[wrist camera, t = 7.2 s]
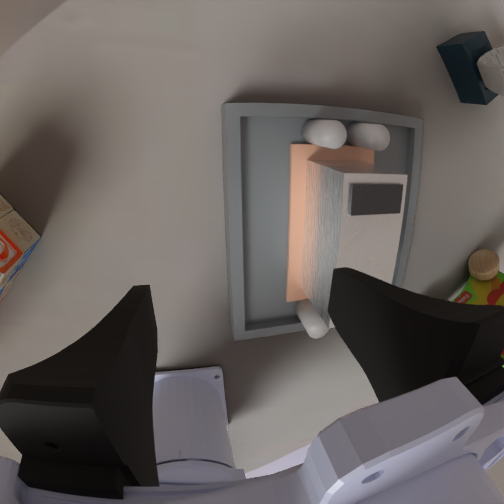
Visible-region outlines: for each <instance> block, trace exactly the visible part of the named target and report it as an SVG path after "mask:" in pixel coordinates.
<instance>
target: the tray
mask: <svg viewBox="0 0 504 504" xmlns="http://www.w3.org/2000/svg"><path fill="white" fill-rule="evenodd" d="M221 106H222V149H223V181H224V208H225V233H226V254H227V274H228V293H229V311H230V326H231V330H232V333H233V337H234V341H239V340H246V339H253V338H260V337H267V336H274V335H280V334H286V333H292V332H298V331H304V330H306V331H307V333H308V334H309V336H310V337H311V338H320V337H322V336H324V335H325V334H326V333H327V332H328V331H329V328H328V327H327V325H326V324H325V323H324V321H323V320H322V318H321V317H320V315H319V314H318V312H317V311H316V309H315V308H314V306H313V305H312V304H311V302H310V301H309V299H308V298H307V296H306V295H305V293H304V292H303V291H302V289H301V277H302V260H303V242H304V222H305V197H306V162H307V160H354V161H364V162H368V163H371V164H374V165H378V166H381V167H384V168H388V169H391V170H394V171H397V172H400V173H403V174H406V175H408V176H407V186H406V196H405V204H404V212H403V220H402V227H401V234H400V240H399V246H398V252H397V258H396V263H395V269H394V274H393V279H392V285H395V286H397V287H400V288H402V284H403V280H404V275H405V270H406V265H407V260H408V255H409V249H410V244H411V238H412V232H413V225H414V218H415V211H416V204H417V196H418V187H419V177H420V167H421V154H422V137H423V119H421V118H416V117H410V116H405V115H399V114H392V113H386V112H379V111H371V110H363V109H355V108H345V107H335V106H323V105H308V104H288V103H225V104H223V105H221Z"/></svg>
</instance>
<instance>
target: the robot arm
mask: <svg viewBox="0 0 504 504" xmlns="http://www.w3.org/2000/svg"><path fill="white" fill-rule="evenodd" d="M327 311H328V313H329V316H330V318H331V320H332V322H333V324H334V326H335V328H336V330H337V332H338V333H339V335H340V336H341V338H342V339H343V341H344V342H345V344H346V345H347V347H348V348H349V349H350V351H351V352H352V354H353V355H354V357H355V358H356V360H357V361H358V363H359V364H360V365H361V367H362V369H363V370H364V372H365V374H366V375H367V377H368V379H369V381H370V383H371V385H372V387H373V389H374V391H375V394H376V396H377V398H378V400H379V403H377V404H374V405H371V406H367V407H364V408H361V409H359V410H356V411H354V412H352V413H350V414H347V415H345V416H343V417H340V418H338V419H337V420H336V421H334V422H333V423H332V424H330V425H329V426H327V427H326V428H325V429H323V430H322V431H320V433H319V434H318V436H317V437H316V438H315V440H314V441H313V443H312V444H311V446H310V447H309V449H308V452H307V456H306V458H305V462H304V463H302V464H300V465H297V466H294V467H291V468H289V469H286V470H283V471H280V472H277V473H274V474H271V475H266V476H261V477H255V478H249V479H246V477H245V473H244V469H236V468H235V463H234V459H233V454H232V450H231V445H230V441H229V436H228V431H227V429H228V428H229V427H228V418H227V410H226V401H225V392H224V382H223V373H222V369H221V368H220V367H218V366H215V367H206V368H197V369H187V370H176V371H164V372H155V371H156V361H157V352H158V346H157V326H156V320H155V315H154V309H153V303H152V297H151V291H150V285H139V286H133V287H132V288H131V289H130V290H129V292H128V293H127V294H126V295H125V296H124V297H123V298H122V299H121V301H120V302H119V303H118V304H117V305H116V306H115V307H114V308H113V309H112V310H111V311H110V312H109V313H108V314H107V315H106V316H105V317H104V318H103V319H102V320H101V321H100V322H99V323H98V324H97V325H96V326H95V327H94V328H92V329H91V330H90V331H89V332H88V333H86V334H85V335H84V336H82V337H81V338H80V339H79V340H77V341H76V342H74V343H73V344H71V345H69V346H68V347H66V348H65V349H63V350H62V351H60V352H58V353H57V354H55V355H53V356H51V357H49V358H47V359H45V360H43V361H41V362H39V363H37V364H35V365H32V366H30V367H27V368H24V369H22V370H19V371H16V372H14V373H11V374H8V376H7V378H6V380H5V382H4V385H3V387H2V389H1V391H0V428H1V429H2V431H3V432H4V433H5V435H6V436H7V437H8V438H9V440H10V441H11V442H12V443H13V445H14V446H15V447H16V448H17V449H18V451H19V452H20V453H21V454H22V459H21V463H20V464H19V463H18V462H16V461H14V460H12V459H9V458H6V457H2V456H0V504H504V495H503V494H502V493H501V491H500V490H499V488H498V487H497V486H496V484H495V483H494V481H493V480H492V479H491V477H490V476H489V475H488V473H487V472H486V470H487V469H489V468H490V467H491V466H492V465H493V464H495V463H496V462H497V461H498V460H499V459H500V458H502V457H503V456H504V367H503V365H504V359H503V358H502V357H501V354H502V352H503V350H504V306H501V305H474V304H464V303H456V302H450V301H445V300H440V299H436V298H431V297H428V296H424V295H421V294H417V293H414V292H411V291H408V290H405V289H403V288H400V287H397V286H395V285H392V284H390V283H387V282H385V281H382V280H380V279H378V278H375V277H373V276H370V275H368V274H366V273H363V272H360V271H358V270H355V269H352V268H348V267H343V268H333V275H332V282H331V290H330V297H329V304H328V310H327ZM216 375H219V376H216Z"/></svg>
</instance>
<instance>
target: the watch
mask: <svg viewBox="0 0 504 504" xmlns="http://www.w3.org/2000/svg"><path fill="white" fill-rule="evenodd" d="M437 49H438V51H439V53H440V55H441V57H442V59H443V61H444V64H445V66H446V68H447V70H448V72H449V75H450V77H451V79H452V82H453V84H454V86H455V89H456V91H457V94H458V96H459V99H460V101H461V103H471V104H482V105H487V104H488V103H489V102H491V101H492V100H493V99H494V98H495V97H496V96H497V95H502V96H504V46H501V47H498V48H495V49H492V47H491V45H490V42H489V40H488V38H487V36H486V33H485V31H480V32H471V33H463V34H459V35H457V36H455V37H453V38H451V39H449V40H448V41H446V42H444V43H442V44H440V45H438V46H437Z"/></svg>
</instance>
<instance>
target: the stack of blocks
mask: <svg viewBox="0 0 504 504" xmlns="http://www.w3.org/2000/svg"><path fill="white" fill-rule="evenodd" d="M40 238H41V237H40V235H38V234H37V233H36V231H35V230H34V229H33V228H32V227H31V226H30V225H29V224H28V223H27V222H26V221H25V220H24V219H23V218H22V217H21V216H20V215H19V214H18V213H17V212H16V211H15V210H14V209H13V207H12V206H11V205H10V204H9V203H8V202H7V201H6V200H5V199H4V198H3V197H2V196H1V195H0V301H1V299H2V297H3V296H4V295H5V294H6V292H7V291H8V290H9V288H10V287H11V285H12V283H13V282H14V280H15V278H16V277H17V275H18V273H19V272H20V270H21V269H22V266H23V264H24V263H25V261H26V260H27V258H28V257H29V255H30V254H31V252H32V250H33V249H34V247H35V246H36V244H37V243H38V241H39V240H40Z"/></svg>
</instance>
